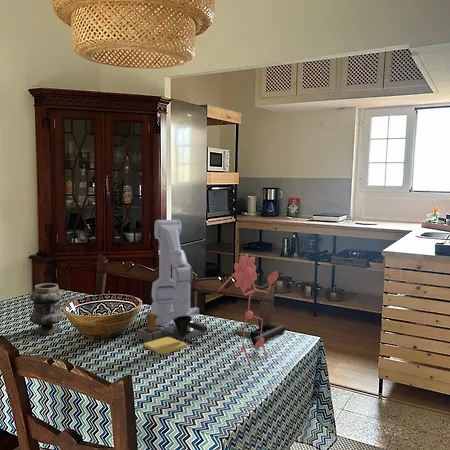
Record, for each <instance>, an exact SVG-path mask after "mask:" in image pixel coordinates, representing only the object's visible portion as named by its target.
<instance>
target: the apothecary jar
mask: <svg viewBox="0 0 450 450" xmlns="http://www.w3.org/2000/svg"><path fill="white" fill-rule="evenodd" d="M63 296H64V293H63V292H62V290H60V288H59V285H58V284H57V283H40V284H36V285H34V289H33V291H32V292H31V294H30V295H29V298H30V301H32V302H33V308H32V309H33V312H32V313H31V314H30V316H29V320H30V322H31V323H33V325H36V326H39V327H36V328H35V329H34V330H33V334H34V333H35V335H37V334H39V335H38V336H47V335H46V334H49V335H53V333H54V334H56V332H57V333H59V332H60V331H61V327H60V326H58V325H56V324H58V323H60V322H61V321H62V320H63V318H64V312H62V311H61V306H60V305H61V303H60V301H61V300H62V298H63ZM58 331H59V332H58Z"/></svg>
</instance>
